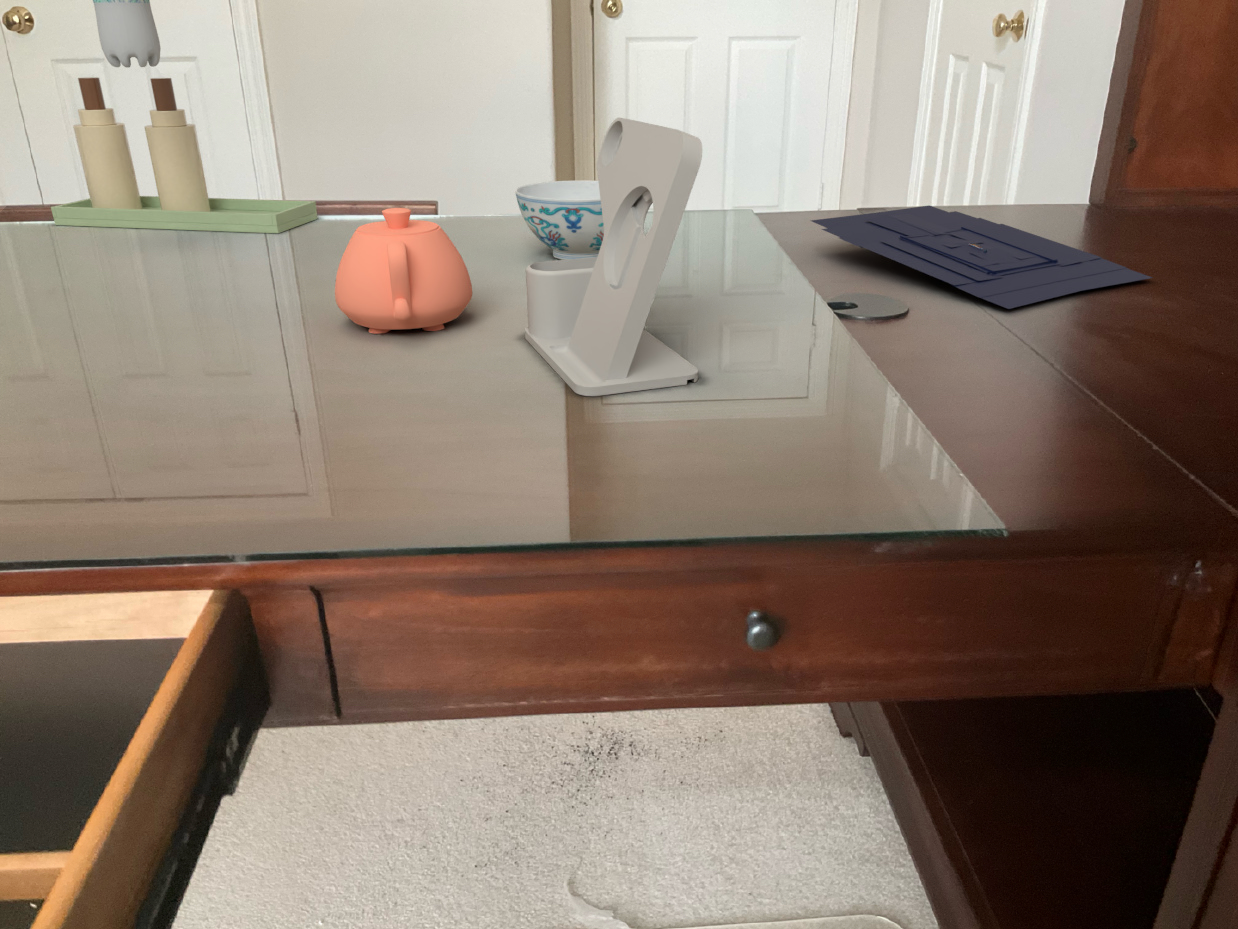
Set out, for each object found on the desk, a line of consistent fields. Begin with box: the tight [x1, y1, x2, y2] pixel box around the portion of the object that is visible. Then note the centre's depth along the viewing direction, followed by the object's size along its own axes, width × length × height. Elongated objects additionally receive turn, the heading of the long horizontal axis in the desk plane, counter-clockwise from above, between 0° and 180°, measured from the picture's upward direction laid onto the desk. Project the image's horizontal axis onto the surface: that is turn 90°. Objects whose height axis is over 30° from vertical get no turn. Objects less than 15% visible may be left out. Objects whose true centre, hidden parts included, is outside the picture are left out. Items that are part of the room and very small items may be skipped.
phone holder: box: [524, 117, 703, 397], centre depth 73 cm, size 17×10×18 cm, turn 20°
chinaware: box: [514, 179, 604, 260], centre depth 110 cm, size 15×15×8 cm
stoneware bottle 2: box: [144, 77, 211, 212], centre depth 128 cm, size 6×6×18 cm
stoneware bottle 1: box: [72, 76, 143, 209], centre depth 130 cm, size 6×6×18 cm
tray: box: [50, 195, 319, 234], centre depth 132 cm, size 34×11×2 cm, turn 79°
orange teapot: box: [334, 207, 473, 335], centre depth 83 cm, size 12×14×10 cm
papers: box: [810, 204, 1153, 310], centre depth 105 cm, size 24×30×4 cm
